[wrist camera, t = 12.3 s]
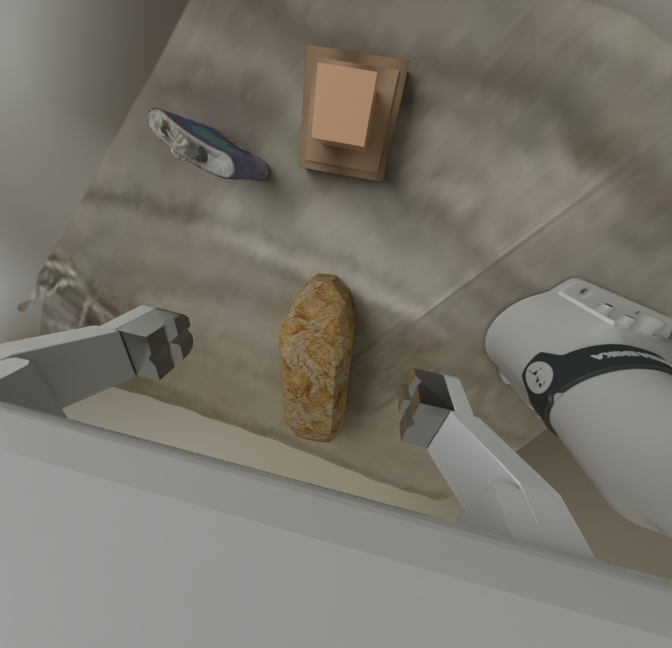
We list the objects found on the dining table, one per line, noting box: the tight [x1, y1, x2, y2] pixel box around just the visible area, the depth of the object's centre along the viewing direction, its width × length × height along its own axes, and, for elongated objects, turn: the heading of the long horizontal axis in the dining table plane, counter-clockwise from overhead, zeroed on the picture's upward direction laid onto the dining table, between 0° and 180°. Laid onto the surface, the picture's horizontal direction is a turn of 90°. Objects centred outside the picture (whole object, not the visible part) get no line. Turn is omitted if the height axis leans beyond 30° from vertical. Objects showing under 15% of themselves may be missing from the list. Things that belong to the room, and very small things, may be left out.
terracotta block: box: [312, 62, 378, 152], centre depth 23 cm, size 5×5×5 cm
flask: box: [148, 108, 269, 180], centre depth 27 cm, size 9×3×11 cm, turn 60°
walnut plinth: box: [299, 44, 410, 182], centre depth 27 cm, size 10×10×3 cm
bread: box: [278, 273, 356, 442], centre depth 42 cm, size 36×11×10 cm, turn 177°
